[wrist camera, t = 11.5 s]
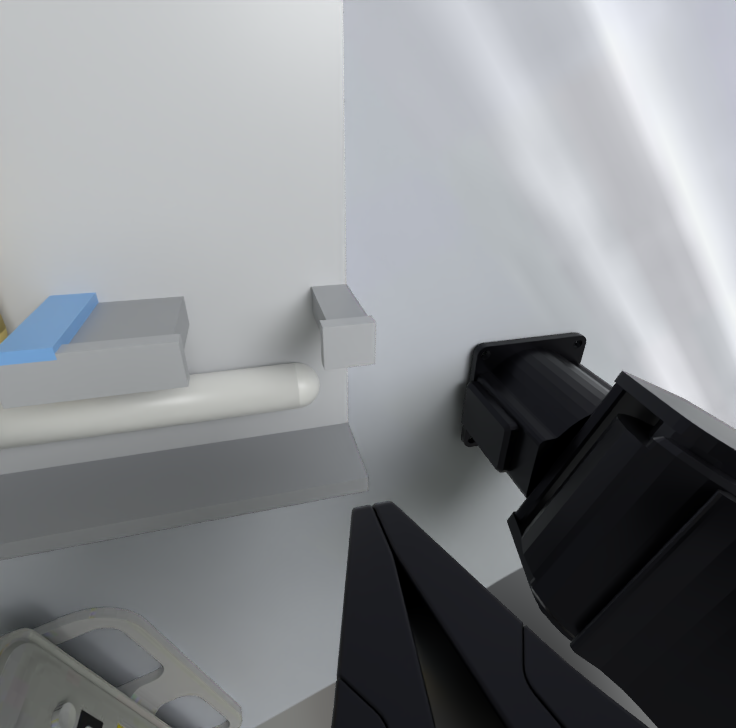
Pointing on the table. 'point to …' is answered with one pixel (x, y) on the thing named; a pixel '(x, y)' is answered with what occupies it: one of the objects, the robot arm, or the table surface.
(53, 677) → the network device
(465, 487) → the table surface
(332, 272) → the pipe mounting panel
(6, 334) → the yellow capsule with collar
